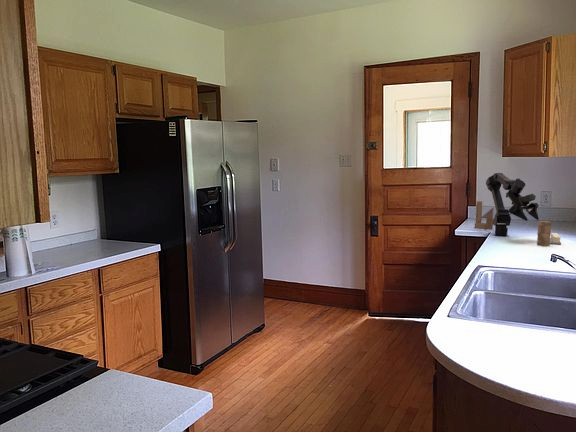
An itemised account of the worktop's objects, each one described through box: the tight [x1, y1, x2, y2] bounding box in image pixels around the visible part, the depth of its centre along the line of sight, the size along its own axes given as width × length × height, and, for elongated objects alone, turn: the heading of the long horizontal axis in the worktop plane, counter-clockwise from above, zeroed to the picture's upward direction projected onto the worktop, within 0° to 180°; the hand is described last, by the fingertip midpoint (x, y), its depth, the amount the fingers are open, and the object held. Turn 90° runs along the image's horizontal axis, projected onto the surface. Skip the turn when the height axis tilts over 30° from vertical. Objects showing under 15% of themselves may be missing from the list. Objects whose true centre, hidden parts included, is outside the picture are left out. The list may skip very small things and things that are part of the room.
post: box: [536, 220, 552, 247], centre depth 269 cm, size 4×4×13 cm
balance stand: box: [550, 232, 562, 246], centre depth 280 cm, size 10×16×4 cm, turn 158°
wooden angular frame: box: [474, 200, 495, 230], centre depth 328 cm, size 4×11×18 cm, turn 56°
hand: (532, 220), depth 274 cm, fingers open, 9 cm apart
